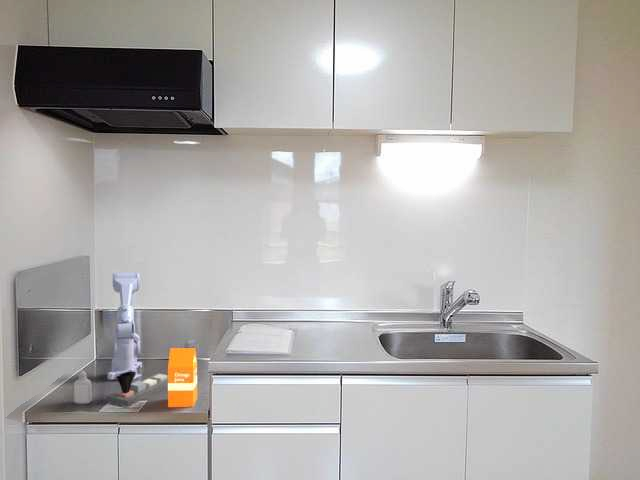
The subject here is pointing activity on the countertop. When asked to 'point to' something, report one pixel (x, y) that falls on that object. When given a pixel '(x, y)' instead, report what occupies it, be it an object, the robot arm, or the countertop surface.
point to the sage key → (160, 377)
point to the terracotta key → (125, 394)
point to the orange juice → (182, 377)
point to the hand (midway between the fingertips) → (125, 392)
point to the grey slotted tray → (138, 393)
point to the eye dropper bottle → (82, 389)
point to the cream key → (150, 382)
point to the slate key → (138, 386)
